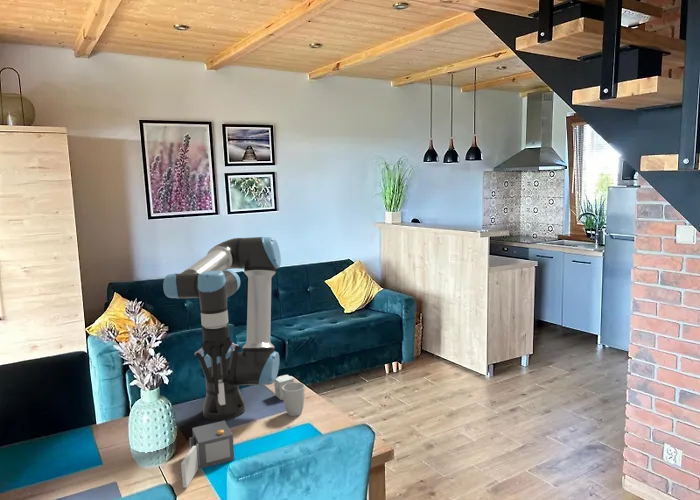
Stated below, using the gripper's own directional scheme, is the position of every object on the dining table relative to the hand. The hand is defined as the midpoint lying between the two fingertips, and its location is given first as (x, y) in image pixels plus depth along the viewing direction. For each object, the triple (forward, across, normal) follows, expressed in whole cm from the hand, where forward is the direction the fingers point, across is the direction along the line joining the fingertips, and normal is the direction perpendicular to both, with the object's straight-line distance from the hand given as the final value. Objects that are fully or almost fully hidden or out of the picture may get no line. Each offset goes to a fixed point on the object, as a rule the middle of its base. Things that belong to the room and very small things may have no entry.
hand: (221, 402), depth 152 cm
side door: (+18, +11, +4) cm, 21 cm away
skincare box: (+20, -31, -39) cm, 54 cm away
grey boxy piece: (+19, +3, -6) cm, 20 cm away
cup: (+20, -29, -22) cm, 42 cm away
